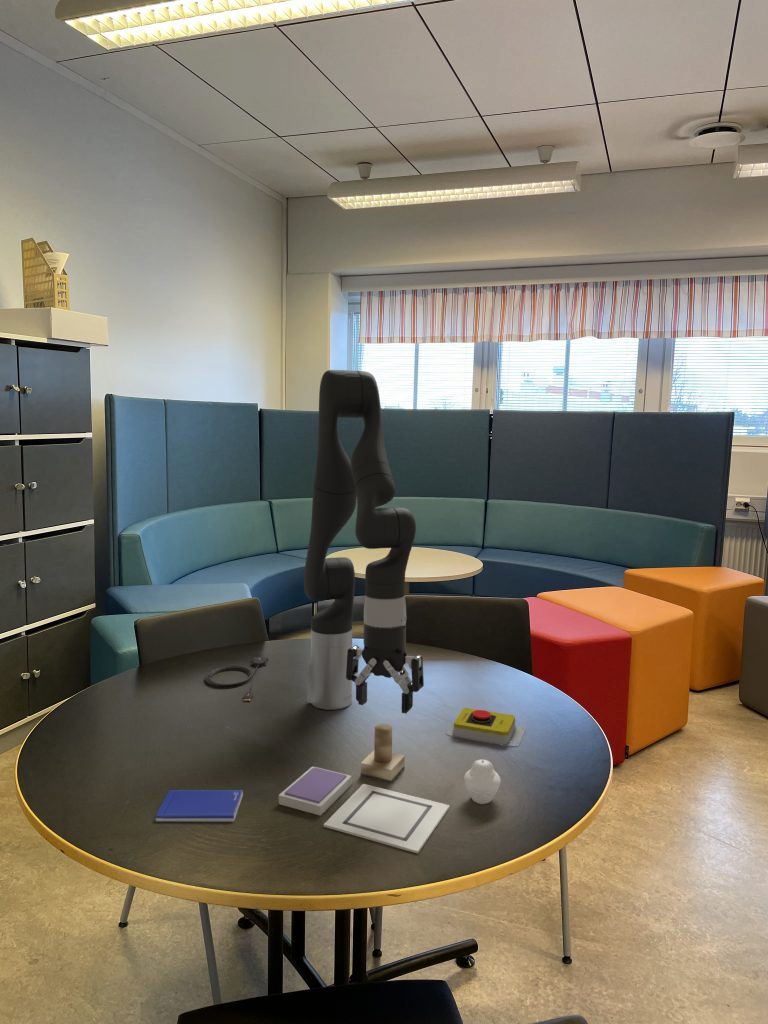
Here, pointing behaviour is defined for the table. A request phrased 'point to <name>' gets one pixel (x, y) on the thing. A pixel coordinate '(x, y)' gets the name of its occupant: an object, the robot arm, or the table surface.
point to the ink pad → (315, 790)
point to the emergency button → (486, 727)
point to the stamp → (383, 757)
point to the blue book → (200, 805)
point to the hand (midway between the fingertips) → (384, 707)
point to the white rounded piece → (482, 781)
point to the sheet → (388, 817)
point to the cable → (256, 663)
